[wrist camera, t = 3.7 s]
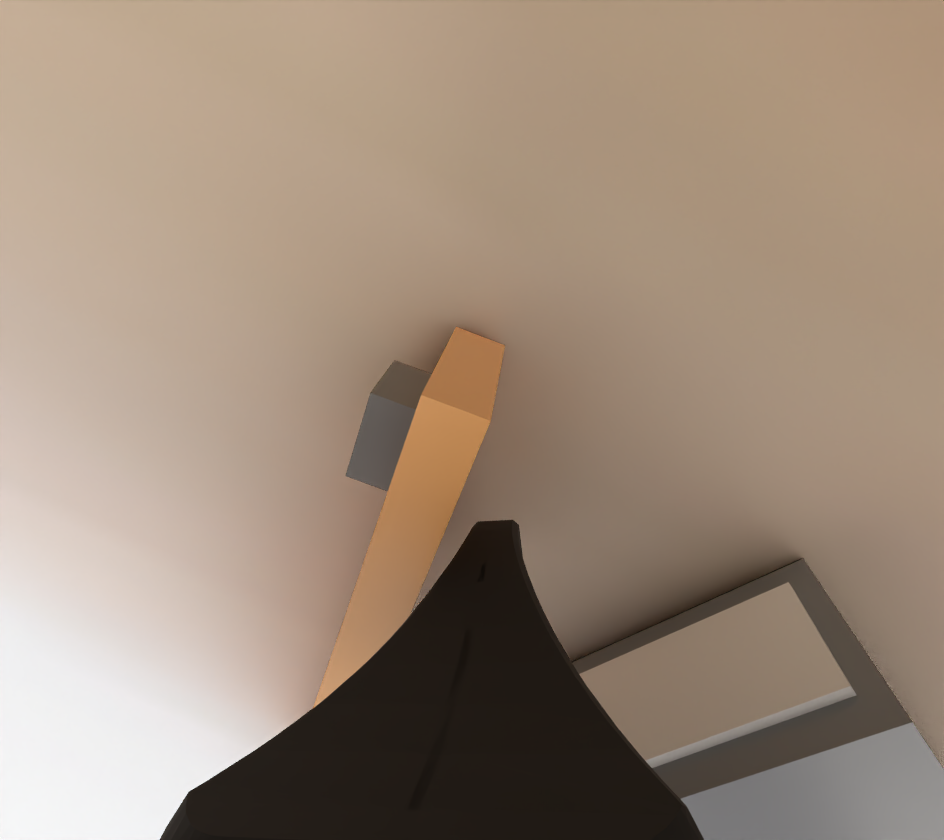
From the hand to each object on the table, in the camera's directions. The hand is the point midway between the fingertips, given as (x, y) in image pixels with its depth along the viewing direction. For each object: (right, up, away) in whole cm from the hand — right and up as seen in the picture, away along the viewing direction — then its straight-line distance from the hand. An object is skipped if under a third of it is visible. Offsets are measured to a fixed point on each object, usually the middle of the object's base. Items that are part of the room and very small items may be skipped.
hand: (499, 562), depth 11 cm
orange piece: (-3, -1, +2) cm, 4 cm away
